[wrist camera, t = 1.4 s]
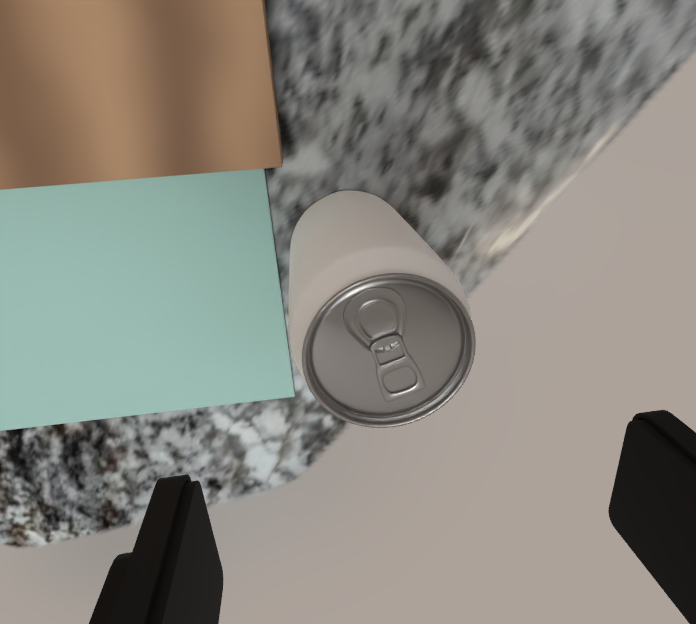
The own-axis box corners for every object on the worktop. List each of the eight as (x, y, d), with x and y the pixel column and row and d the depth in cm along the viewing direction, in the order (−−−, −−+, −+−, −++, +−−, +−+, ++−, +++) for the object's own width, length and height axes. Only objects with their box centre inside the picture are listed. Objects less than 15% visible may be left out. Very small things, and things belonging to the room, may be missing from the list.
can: (385, 169, 24) (461, 226, 13) (420, 277, 27) (507, 398, 16) (270, 215, 24) (252, 308, 14) (316, 318, 27) (332, 463, 16)
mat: (263, 159, 23) (262, 160, 23) (294, 392, 29) (294, 396, 29) (-121, 189, 22) (-128, 191, 22) (-7, 427, 28) (-11, 431, 27)
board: (246, -162, 18) (236, -216, 15) (283, 158, 23) (281, 166, 20) (-311, -145, 17) (-451, -202, 14) (-144, 191, 22) (-217, 207, 19)
